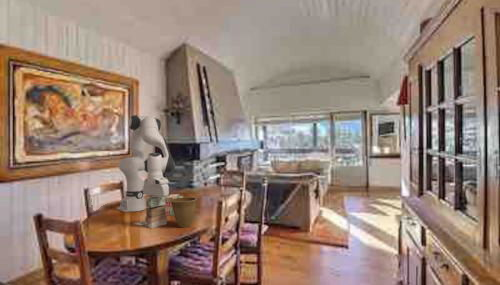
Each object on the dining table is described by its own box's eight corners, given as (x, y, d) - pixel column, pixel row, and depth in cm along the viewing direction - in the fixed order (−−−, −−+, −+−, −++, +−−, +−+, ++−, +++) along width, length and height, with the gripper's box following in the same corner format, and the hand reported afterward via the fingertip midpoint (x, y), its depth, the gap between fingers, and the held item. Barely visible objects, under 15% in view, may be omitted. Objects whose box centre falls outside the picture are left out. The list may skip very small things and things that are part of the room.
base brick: (145, 226, 190) (145, 216, 190) (160, 222, 199) (160, 212, 199) (151, 228, 187) (151, 218, 187) (166, 223, 196) (166, 214, 196)
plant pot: (201, 223, 195) (201, 197, 194) (187, 230, 181) (187, 202, 181) (181, 221, 201) (181, 196, 201) (166, 227, 187) (165, 200, 187)
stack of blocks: (175, 208, 239) (175, 191, 239) (183, 208, 238) (183, 191, 238) (165, 215, 218) (164, 197, 218) (174, 215, 217) (173, 197, 217)
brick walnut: (146, 216, 190) (146, 208, 190) (160, 213, 198) (159, 205, 198) (151, 217, 187) (151, 209, 187) (165, 214, 196) (165, 206, 195)
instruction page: (133, 223, 197) (133, 223, 197) (146, 220, 204) (146, 220, 204) (140, 225, 193) (140, 225, 193) (153, 222, 200) (153, 221, 200)
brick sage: (146, 206, 190) (146, 198, 190) (159, 203, 198) (159, 195, 198) (151, 207, 187) (151, 199, 187) (165, 204, 195) (165, 196, 195)
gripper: (140, 179, 196) (140, 201, 196) (161, 181, 184) (162, 205, 184) (148, 178, 201) (149, 200, 201) (170, 180, 189) (170, 203, 190)
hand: (155, 202), depth 193 cm, fingers closed on brick sage, 5 cm apart
